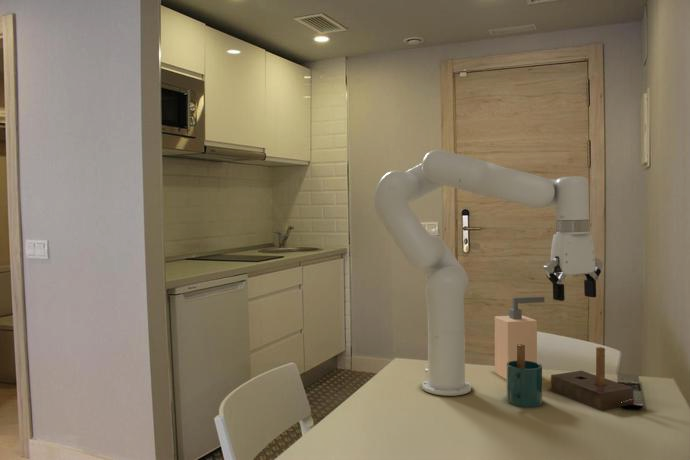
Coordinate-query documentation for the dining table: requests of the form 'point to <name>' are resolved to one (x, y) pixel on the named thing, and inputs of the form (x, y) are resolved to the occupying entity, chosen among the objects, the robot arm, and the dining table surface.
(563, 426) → the dining table surface
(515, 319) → the soap dispenser
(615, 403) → the stirrer stand
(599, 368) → the stirrer
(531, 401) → the mug
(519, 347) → the stirrer
